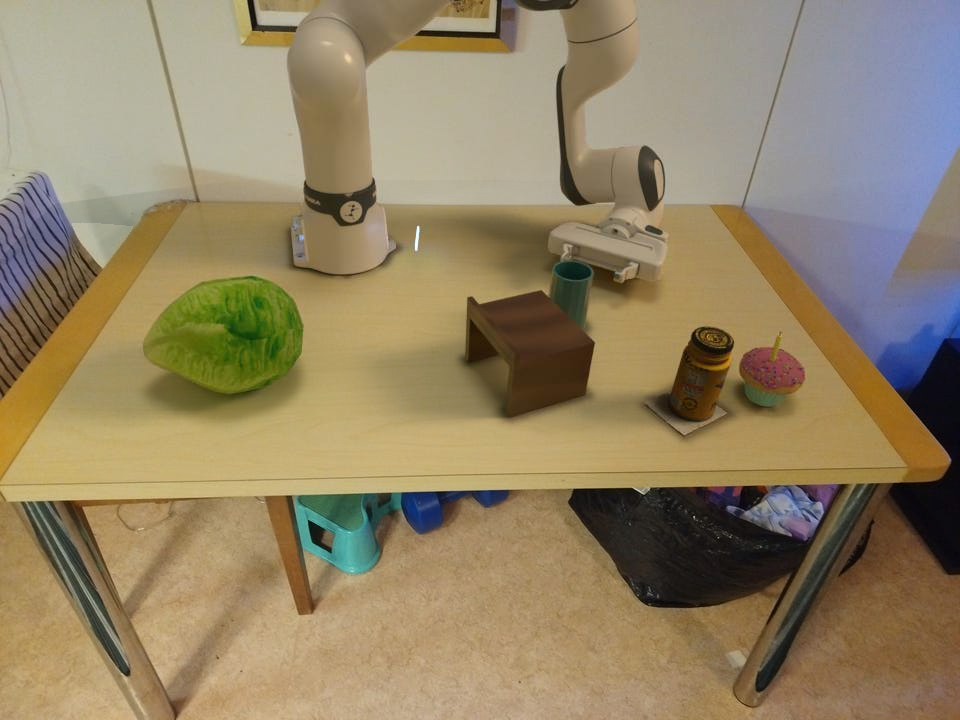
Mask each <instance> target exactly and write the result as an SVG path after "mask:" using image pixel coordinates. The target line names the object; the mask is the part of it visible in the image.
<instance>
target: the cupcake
mask: <svg viewBox="0 0 960 720" xmlns="http://www.w3.org/2000/svg"><path fill="white" fill-rule="evenodd" d="M783 337H784V336H783V334H782V330H780V331H779V333H777V334H776V337H775V341H774V344H773V346H771V347H770V346H764V347H763V346H761V347H757V346H756V347H755V348H752V349H751V350H748V351H746V352H745V353H744V354H742V357H741V360H740V362H739V366H738V368H739V369H738V372H739V375H740V377H741V379H743V382H744V395H745V397H746V398H747V399H748V400H749V401H750V402H752V403H753V404H756V405H758V406H761V407H766V408H772V407H776V406H778V405H779V404H780V403H781V402H782V401H783V399H784V398H786V397H787V396H788V395H791V394H795V393H796V392H798V391H799V389H801V388H802V387H803V385H804V382H805V380H806V377H805V376H806V371H805V368H804V366H803V363H802V362H800V361H799V360H798V359H797V358H796V357H795V356H794V355H792V354H791V353H790V352H789V351H786V350H784V349H782V348H780V345H781V343H782V339H783Z"/></svg>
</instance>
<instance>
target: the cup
mask: <svg viewBox="0 0 960 720" xmlns="http://www.w3.org/2000/svg"><path fill="white" fill-rule="evenodd" d="M594 277H595V271H594V268H592V267H591V266H590V264H588V263H585V262H581V261H578V260H572V261H567V260H566V261H561V262H560V261H557V262H556V263H554V264H553V266H552V268H551V274H550V282H549V289H548V297H549V298H550V299H551V300H552V301H553V302H554V303H555V304H556V305H557V306H558V307H559V308H560V309H561V310H562V311H563V312H565V313H566V314H567V315H568V316H569V317H570V318H571V319H572V320H573V321H574V322H575V323H576V324H577V325H578V326H579V327H580V328H581V329H582V330H583V331H584V332H585V327H586V323H587V317H588V311H589V306H590V301H591V295H592V294H591V293H592V287H593V282H594Z"/></svg>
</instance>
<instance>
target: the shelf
mask: <svg viewBox="0 0 960 720" xmlns="http://www.w3.org/2000/svg"><path fill="white" fill-rule="evenodd" d="M465 322H466V323H465V345H464V346H465V347H464V348H465V349H464V359H465V360H466V362H467V363H472V362H476V361H480V360H483V359H487V358H492V357H496V356H500V357H501V358H502V360H504V362H505V363H506V364H507V365H508V367H509V368H508V377H507V378H508V379H507V387H506V390H507V391H506V398H505V399H506V400H505V414H506V415H507V417H508V418H514V417H516V416H520V415H523V414H526V413H529V412H533V411H536V410H540V409H542V408H546V407H550V406H553V405H555V404H559V403H563V402H565V401H569V400H572V399H575V398H579V397H581V396H586V393H587V389H588V384H589V383H588V382H589V377H590V373H591V366H592V361H593V357H594V356H593V355H594V350H595V345H596V342H595V340H594V339H592V338H591V337H590V336H589V335H588V334H587V333H586V332H585V330H584V331H583V330H582V329H581V328H580V327H579V326H578V325H577V324H576V323H575V322H574V321H573V320H572V319H571V318H570V317H569V316H568V315H567V314H566V313H565V312H563V311H562V310H561V309H560V308H559V307H558V306H557V305H556V304H555V303H554V302H553V301H552V300H551V299H550V298H549V295H547V294H546V293H545V292H544V290H542V289H539V290H536V291H531V292H527V293H522V294H518V295H513V296H507V297H504V298H500V299H496V300H493V301H492V300H491V301H486V302H482V303H479V301H477V300H476V299H475V297H474V296H471V295H470V296H467V297H466V321H465Z"/></svg>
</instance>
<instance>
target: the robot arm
mask: <svg viewBox="0 0 960 720" xmlns="http://www.w3.org/2000/svg"><path fill="white" fill-rule="evenodd" d="M454 1H455V0H323V1H321V2H320V3H319V4H318V5H316V7H314V9H312V10H311V11H310V12H309V13H308V14H307V15H306V16H304V18H302V20H301V21H300V22H299V24H297V25H298V26H297V27H296V29H295V33H294V35H293V38H292V40H291V42H290V46H289V48H288V51H287V54H286V70H287V76H288V77H287V78H288V82H289V88H290V94H291V99H292V105H293V110H294V114H295V119H296V120H295V121H296V124H297V127H298V132H299V137H300V138H299V139H300V145H301V154H302V162H303V169H304V177H305V178H304V181H303V188H302V190H303V198H304V200H303V201H302V202H301V203H300V204H299V211H300V214H293V215H291V223H292V224H291V226H290V234H291V235H290V236H291V246H292V259H293V260H292V261H293V265H294V266H295V267H298V268H308V269H313V270H316V271H319V272H320V273H324V274H331V275H351V274H352V275H353V274H360V273H363V272H367V271H370V270H373V269H375V268H377V267H378V266H380V265H382V263H383V262H384V261H385V259H386V258H387V256H388V255H389V254H390V253H391V252H393V251H395V249H396V248H397V242H396V241H395V240H394V239H393V238H392V237H389V236H388V225H387V217H386V209H385V207H384V206H383V205H381V204H380V203H378V201H377V185H376V179H375V178H374V176H373V163H372V148H371V146H372V145H371V132H370V118H369V103H368V88H367V71H366V70H367V69H368V68H369V67H370V66H371V65H372V64H373V63H375V62H376V61H378V60H380V58H382V57H383V56H384V55H386V54H387V53H389V52H390V51H393V49H395V48H396V47H398V46H400V45H401V44H403V43H405V42H407V41H409V40H411V39H412V38H413V37H415V36H416V35H417V34H419V32H421V31H422V30H423V29H424V28H425V27H426V26H427V25H428V24H430V23H431V22H432V21H433V20H435V18H436V17H438V15H440V14H441V13H442V12H443V11H445V9H447V8H448V7H449V6H450V5H451V4H452V3H453V2H454ZM512 1H513V2H514V3H515V4H516V5H517V6H519V7H520V8H523V9H524V10H527V11H531V12H548V11H549V12H550V11H558V12H559V14H560V16H561V18H562V23H563V28H564V34H565V38H566V43H567V57H566V62H565V64H563V66H562V67H560V69H559V71H558V73H557V77H556V84H555V102H556V117H557V119H556V120H557V130H558V131H557V132H558V142H559V157H560V158H559V159H560V160H559V162H560V164H559V186H560V191H561V193H562V194H563V195H564V197H565V198H566V199H568V201H569V202H570V203H572V204H573V205H575V206H577V207H581V206H589V205H595V204H608V203H614V207H613V208H612V210H610V211H609V212H608V213H606V215H605V216H604V217H603V218H602V219H601V220H600V221H599V222H598V223H597V224H596V225H595V226H593V225H590V224H589V225H588V224H585V223H581V222H578V221H566V222H564V223H561V224H560V225H558V226H557V227H555V228H554V229H552V230H551V231H550V233H549V236H548V240H547V249H548V251H549V253H551V254H554V255H558V256H560V259H559V262H561V261H566V260H567V261H573V260H574V261H578V262H582V263H585V264H587V265H592V266H595V267H599V268H602V269H606V270H609V271H612V272H614V273H613V278H612V280H613V281H614V282H617V283H620V284H623V283H624V282H625V280H630V279H635V278H637V279H640V280H643V281H647V282H650V283H655V282H659V281H660V279H661V277H662V274H663V272H664V268H665V265H666V260H667V255H668V249H669V248H668V245H669V239H670V235H669V233H668V232H666V231H664V230H663V229H660V228H659V226H660V223H661V222H662V219H663V215H664V211H665V204H664V203H665V202H664V196H665V191H666V174H665V167H664V163H663V161H662V159H661V158H660V157H659V155H658V154H657V153H656V151H654V149H652V148H651V147H649V146H648V145H632V146H631V145H630V146H620V147H614V148H613V147H611V148H599V149H595V148H591V146H588V144H587V134H586V116H585V115H586V113H585V112H586V111H585V107H586V103H587V102H588V101H590V99H592V98H594V97H595V96H597V95H599V94H601V93H602V92H604V91H606V90H608V89H610V88H612V87H614V85H616V84H617V83H618V82H619V81H621V80H622V79H623V78H624V77H625V76H626V75H627V74H628V73H629V72H630V70H632V68H633V66H634V65H635V63H636V61H637V59H638V57H639V53H640V48H641V40H640V38H641V37H640V26H639V19H638V13H637V8H636V3H635V0H512ZM419 234H420V226H419V225H418V226H417V227H416V235H415V242H414V243H415V244H414V250H415V251H418V245H419V237H420V235H419Z"/></svg>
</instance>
